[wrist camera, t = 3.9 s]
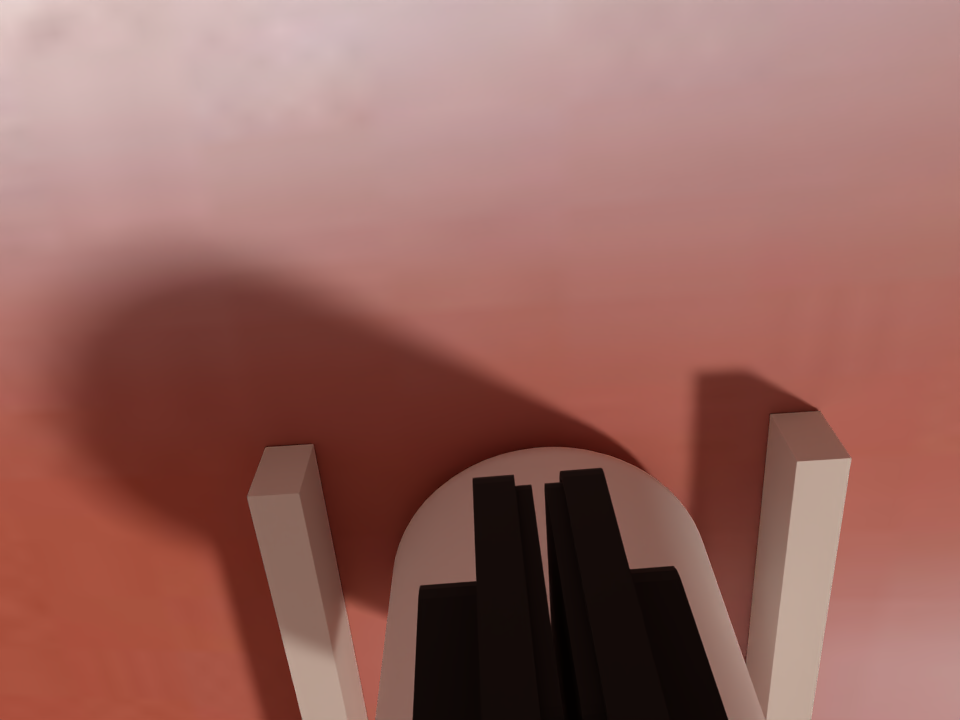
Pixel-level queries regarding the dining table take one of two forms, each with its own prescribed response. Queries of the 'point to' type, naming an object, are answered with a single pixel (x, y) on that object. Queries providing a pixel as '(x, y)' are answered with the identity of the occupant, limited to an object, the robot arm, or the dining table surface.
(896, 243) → the dining table surface
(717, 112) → the dining table surface
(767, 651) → the cup pocket
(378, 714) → the cup
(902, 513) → the dining table surface
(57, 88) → the dining table surface
